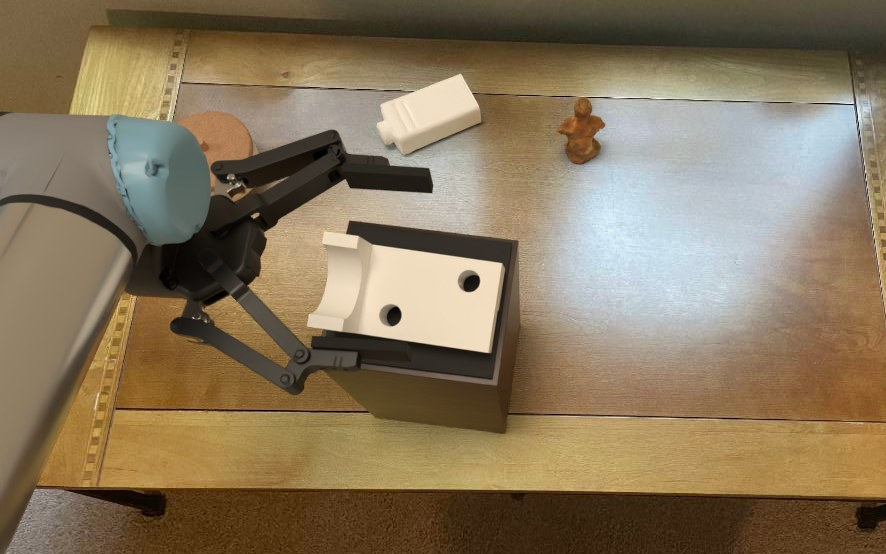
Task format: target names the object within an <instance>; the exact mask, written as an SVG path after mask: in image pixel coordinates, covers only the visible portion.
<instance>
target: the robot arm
mask: <svg viewBox="0 0 886 554" xmlns="http://www.w3.org/2000/svg"><path fill="white" fill-rule="evenodd" d="M177 123H178V122H175V121H169V120H162V119H161V120H160V119H153V118H146V117H145V118H144V117H135V116H129V115H123V114H110V115H108V114H107V115H104V114H69V113H41V112H40V113H38V112H11V111H3V110H1V111H0V554H7V553H8V550H9V548H10V546H11V544H12V541H13V539H14V537H15V535H16V533H17V530H18V529H19V526H20V524H21V521H22V519H23V517H24V515H25V513H26V510H27V508H28V506H29V504H30V502H31V499H32V497H33V494H34V492H35V490H36V488H37V485H38V484H39V482H40V479H41V477H42V475H43V473H44V471H45V468H46V466H47V464H48V462H49V459H50V457H51V455H52V453H53V450H54V448H55V445H56V444H57V441H58V439H59V437H60V436H61V435H60V434H61V433H62V430H63V428H64V426H65V424H66V421H67V419H68V417H69V415H70V413H71V410H72V408H73V406H74V403H75V401H76V399H77V396H78V395H79V392H80V390H81V388H82V386H83V383H84V381H85V379H86V377H87V374H88V373H89V370H90V368H91V366H92V364H93V361H94V359H95V357H96V355H97V353H98V350H99V348H100V346H101V343H102V342H103V340H104V337H105V335H106V332H107V330H108V328H109V325H110V324H111V321H112V319H113V317H114V315H115V312H116V310H117V308H118V305H119V303H120V301H121V299H122V297H123V295H126V294H129V295H130V296H133V297H144V298H145V297H147V298H159V299H175V300H176V299H177V300H178V299H179V300H180V299H182V300H186V301H185V305H184V308H183V311H182V314H181V316H177V317H174V318H173V319H172V320H171V321H170V323H169V330H170V331H171V332H172V333H173V334H174V335H176V336H178V337H180V338H181V339H183V340H184V341H186V342H187V343H190V344H195V345H199V346H201V345H202V346H205V347H206V346H207V347H212V348H214V349H216V350H218V351H219V352H220V353H222V354H224V355H225V356H227V357H229V358H231V359H232V360H234V361H236V362H237V363H239V364H240V365H242V366H244V367H245V368H247V369H249V370H250V371H251V372H253V373H255V374H256V375H258V376H260V377H261V378H263V379H265V380H266V381H268V382H270V383H271V384H273V385H275V386H276V387H278V388H279V389H281V390H283V391H285V392H286V393H288V394H289V395H291V396H299V395H301V394H302V393H303V392H304V390H305V383H306V382H307V380H308V378H309V376H310V375H312V374H316V373H318V372H319V371H323V370H324V371H340V372H355V371H359V370H360V369H361V362H362V359H370V360H386V361H403V362H411V360H412V350H411V348H410V347H409V345H408V343H407V342H404V341H387V340H371V339H355V338H339V337H323V336H321V335H312V336H311V340H310V347H307V346H306V345H305V344H304V343H303V342H302V341H301V339H299V338H298V336H297V335H296V334H295V333H294V332H293V331H292V330H291V329H290V328H289V327H288V326H287V325H286V324H285V323H284V322H283V321H282V320H281V319H280V318H279V317H278V316H277V314H275V312H274V311H272V309H271V308H270V307H269V306H268V305H267V304H266V303H265V302H264V301H263V300H262V299H261V298H260V297H259V296H258V295H257V294H256V293H255V292H254V291H253V290H252V288H251V287H249V285H251V284H252V283H253V282H254V281H255V280H256V278H259V277H260V275H261V270H262V261H261V260H262V259H261V257H262V256H263V254H264V252H265V250H266V247H267V243H268V238H267V237H266V234H265V233H266V232H267V231H269V230H271V229H272V228H274V227H275V226H277V224H279V220H281V219H282V218H284V217H285V216H287V215H289V214H291V213H292V212H294V211H295V210H297V209H299V208H300V207H302V206H303V205H305V204H308V203H309V202H310V201H312V200H314V199H315V198H318V197H319V196H320V195H321V194H324V193H325V192H327V191H328V190H330V189H332V188H333V187H335V186H336V185H338V184H340V183H342V182H343V181H346V183H347V186H348V187H349V189H351V190H352V189H353V190H369V191H385V192H386V191H387V192H401V193H419V194H433V192H434V182H433V181H434V180H433V178H432V174H431V169H430V167H422V166H421V167H419V166H405V165H391V164H390V161H389V158H387V157H385V156H383V155H373V154H370V155H369V154H356V153H354V154H353V153H348V152H347V148H346V146H345V144H344V142H343V140H342V139H343V138H342V137H341V135H340V133H339V131H338V130H336V129H333V128H332V129H328V130H325V131H322V132H319V133H316V134H312V135H310V136H307V137H304V138H300V139H298V140H295V141H292V142H289V143H286V144H283V145H280V146H277V147H274V148H272V149H268V150H265V151H263V152H260V153H259V154H257V155H254V156H251V157H248V158H245V159H242V160H219V161H215V162H214V163H213V164H212V165H211V167H210V170H211V172H212V173H213V174H214V176H215V177H216V179H215V188H214V195H213V196H211V178H210V171H209V165H208V162H207V158H206V155H205V154H204V153H203V151H202V149H201V146H200V144H199V141H198V140H197V138H196V137H195V136H194V135H193V134H192V133H191V132H190V131H189V130H188V129H187V128H185V127H184V126H182V125H180V124H177ZM278 181H279V182H278ZM274 182H277V183H276V184H274V185H272V186H271V187H268V188H267V189H266V190H264V191H262V192H260V193H257V192H256V193H252V194H250V195H248V196H247V197H246V196H245V198H242V199H240V200H239V201H238V202H236V201H235V202H233V201H232V198H233V197H234V196H235V195H237V194H245V193H246V189H250V188H253V189H256V188H259V187H263V186H266V185H269V184H272V183H274ZM255 214H258V215H257V216H255V217H253V215H255ZM229 296H230V297H231V298H232V299H233V300H234V301H236V303H238V305H239V306H240V307H241V308H242V309H243V310H244V311H245V312H246V313H247V314H248V316H250V317H251V318H252V320H254V321H255V323H256V324H257V325H258V326H259V327H260V328H261V329H262V330H263V332H265V333H266V334H267V335H268V336H269V337H270V338H271V339H272V340H273V342H275V344H277V345H278V347H279V348H280V349H281V350H282V351H283V352H284V353H285V354H286V355H287V357H289V358H290V359H289V361H288V362H287V364H286V366H285V367H284V366H282V365H280V364H279V363H277V362H276V361H273V360H272V359H270V358H269V357H267V356H266V355H264V354H262V353H260V352H259V351H257V350H255V349H254V348H252V347H251V346H249V345H247V344H246V343H244V342H243V341H241V340H239V339H237V338H236V337H234V336H233V335H230V334H229V333H228V332H226V331H224V330H222V329H221V328H219V327H218V326H216V320H215V318H214V317H213V316H212V315H210V314H209V313H207V311H206V308H207V307H210V306H212V305H214V304H216V303H218V302H219V301H221V300H223V299H225V298H227V297H229ZM324 371H323V372H324Z"/></svg>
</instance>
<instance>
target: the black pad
mask: <svg viewBox="0 0 886 554" xmlns="http://www.w3.org/2000/svg"><path fill="white" fill-rule="evenodd" d="M350 235H354V236H359V237H361V238H363V239H364V240H366V241H367V242H369V243H371V244H372V245H378V246H385V247H392V248H399V249H406V250H413V251H420V252H427V253H434V254H441V255H448V256H455V257H462V258H469V259H476V260H483V261H490V262H497V263H502V264H503V266H504V268H505V272H504V279H503V285H502V292H501V298H500V305H499V311H498V312H497V318H496V325H495V331H494V338H493V344H492V351H491V353H486V352H479V351H472V350H466V349H459V348H452V347H445V346H438V345H432V344H425V343H418V342H411V341H405V340H398V339H391V338H384V337H378V336H371V335H364V334H357V333H349V332H341V331H334V330H327V331H326V336H325V337H339V338H355V339H371V340H387V341H404V342H407V343H408V345H409V347H410V348H411V350H412V360H411V362H403V361H386V360H370V359H362V362H361V363H364V364H372V365H380V366H388V367H396V368H404V369H412V370H420V371H428V372H437V373H445V374H453V375H461V376H469V377H477V378H485V379H492V378H493V371H494V364H495V358H496V351H497V344H498V337H499V331H500V324H501V317H502V310H503V303H504V297H505V290H506V283H507V276H508V270H509V263H510V256H511V249H512V243H511V242H503V241H494V240H486V239H478V238H469V237H461V236H452V235H444V234H436V233H427V232H419V231H411V230H402V229H394V228H385V227H377V226H369V225H360V224H352V227H351V231H350ZM479 285H480V277H479V276H477V275H471V276H469V277H467V278H466V279H465V281H464V284H463V288H464V291H465V292H473V291H475V290H476V289H477V288H478V287H479ZM401 317H402V313H401V310H400V308H399V307H398V306H396V307H393V308H391V309H390V310H389V312H388V314H387V321H388V323H389V324H390V325H391V326H395V325H397V324H398V323H399V322H400V320H401Z"/></svg>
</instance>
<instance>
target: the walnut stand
mask: <svg viewBox="0 0 886 554" xmlns="http://www.w3.org/2000/svg"><path fill="white" fill-rule="evenodd" d="M352 224H360V225H369V226H377V227H385V228H394V229H402V230H411V231H419V232H427V233H436V234H444V235H452V236H461V237H469V238H478V239H486V240H494V241H503V242H511V243H512V249H511V256H510V263H509V270H508V276H507V283H506V290H505V297H504V303H503V310H502V317H501V324H500V331H499V337H498V344H497V351H496V358H495V364H494V371H493V378H492V379H485V378H477V377H469V376H461V375H453V374H445V373H437V372H428V371H420V370H412V369H404V368H396V367H388V366H380V365H372V364H364V363H361V369H360V370H359V371H355V372H340V371H324V370H322V371H323V372H324V373H325V374H326V375H327V376H328V377H329V378H330V379H331V380H332V381H334V382H335V383H336V384H337V385H338V386H339V387H340V388H341V389H342V390H343V391H345V392H346V393H347V394H348V395H349V396H350V397H352V398H353V399H354V400H355V401H356V402H357V403H358V404H359V405H360V406H362V408H364V409H365V411H367V412H368V413H369V414H370V415H372V416H373V418H376V419H383V420H392V421H399V422H405V423H406V422H407V423H415V424H422V425H423V424H424V425H431V426H439V427H447V428H455V429H463V430H471V431H477V432H478V431H479V432H486V433H495V434H503V435H505V434H506V433H507V425H508V418H509V410H510V404H511V402H510V401H511V395H512V388H513V382H514V381H513V380H514V374H515V367H516V359H517V352H518V345H519V344H518V343H519V336H520V330H521V329H520V328H521V300H520V299H521V298H520V297H521V295H520V294H521V292H520V248H519V247H520V246H519V245H520V244H519V240H517V239H509V238H502V237H492V236H484V235H477V234H469V233H468V234H467V233H460V232H459V233H458V232H451V231H443V230H435V229H426V228H417V227H411V226H410V227H409V226H400V225H392V224H383V223H376V222H375V223H374V222H369V221H368V222H367V221H359V220H358V221H357V220H351V219H349V220H348V223H347V227H346V232H345V234H347V235H350V231H351V227H352ZM326 331H327V329H322V332H321V335H320V336H323V337H325V336H326Z"/></svg>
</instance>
